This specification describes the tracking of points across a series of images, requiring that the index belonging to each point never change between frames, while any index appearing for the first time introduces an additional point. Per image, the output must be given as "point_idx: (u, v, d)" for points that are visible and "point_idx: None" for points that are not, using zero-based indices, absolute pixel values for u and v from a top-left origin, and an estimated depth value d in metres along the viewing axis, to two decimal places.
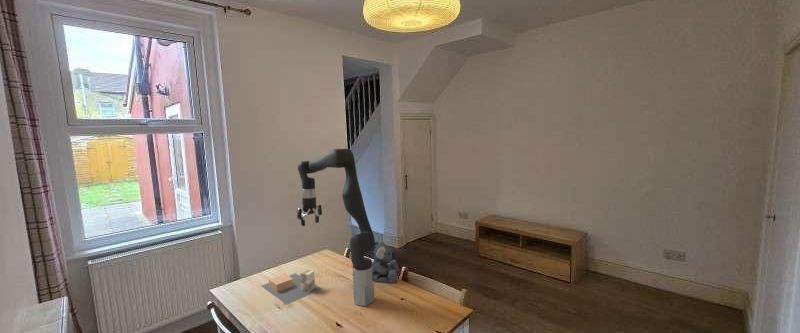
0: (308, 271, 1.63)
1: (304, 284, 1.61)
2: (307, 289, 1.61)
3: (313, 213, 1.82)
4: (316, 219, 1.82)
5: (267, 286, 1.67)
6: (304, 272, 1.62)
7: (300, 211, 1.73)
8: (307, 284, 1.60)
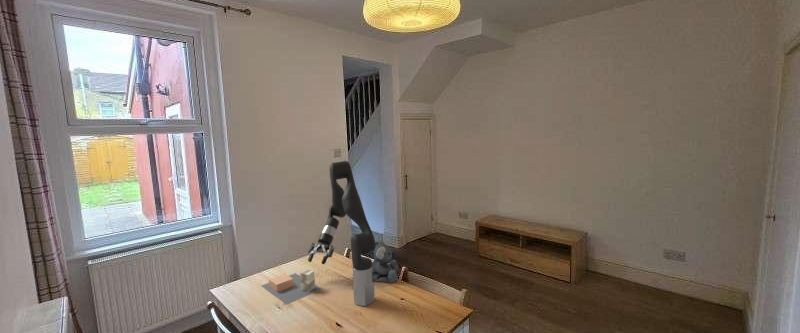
0: (308, 271, 1.63)
1: (304, 284, 1.61)
2: (307, 289, 1.61)
3: None
4: None
5: (267, 286, 1.67)
6: (304, 272, 1.62)
7: (311, 245, 1.76)
8: (307, 284, 1.60)
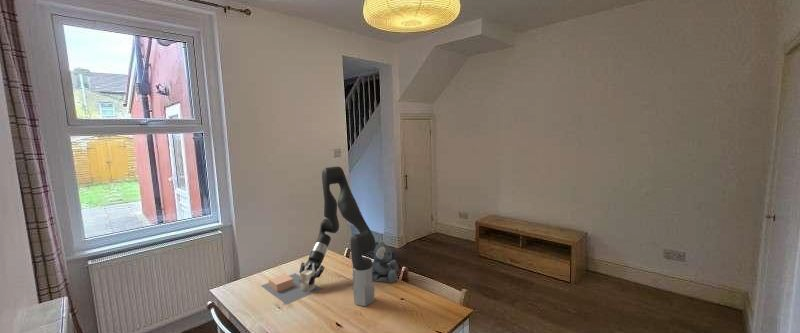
0: (308, 271, 1.63)
1: (304, 284, 1.61)
2: (307, 289, 1.61)
3: None
4: None
5: (267, 286, 1.67)
6: (304, 272, 1.62)
7: (301, 264, 1.68)
8: (307, 284, 1.60)
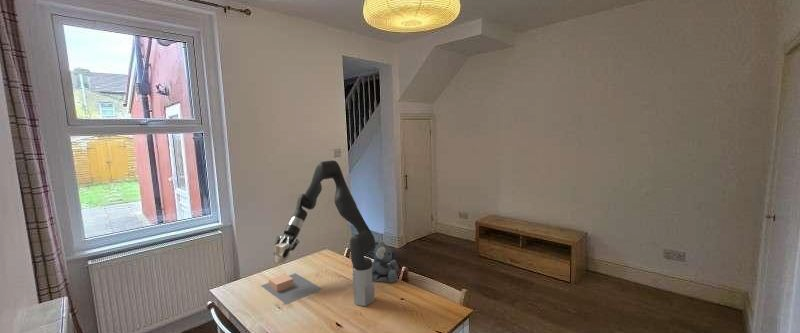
0: (283, 244, 1.65)
1: (278, 256, 1.63)
2: (281, 261, 1.63)
3: None
4: None
5: (267, 286, 1.67)
6: (278, 245, 1.64)
7: (277, 238, 1.70)
8: (281, 256, 1.62)
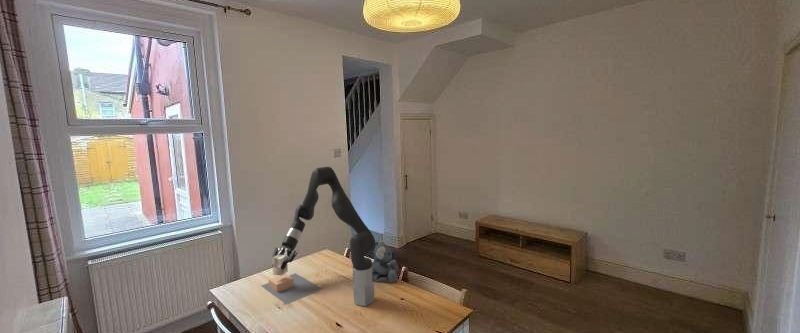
0: (281, 256, 1.66)
1: (276, 268, 1.63)
2: (279, 273, 1.63)
3: None
4: None
5: (267, 286, 1.67)
6: (276, 256, 1.65)
7: (275, 250, 1.70)
8: (279, 268, 1.63)
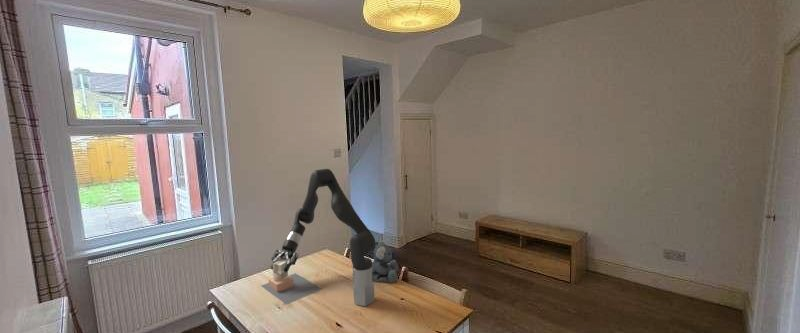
0: (281, 262, 1.66)
1: (277, 274, 1.64)
2: (279, 279, 1.63)
3: None
4: None
5: (267, 286, 1.67)
6: (277, 262, 1.65)
7: (275, 252, 1.71)
8: (279, 274, 1.63)
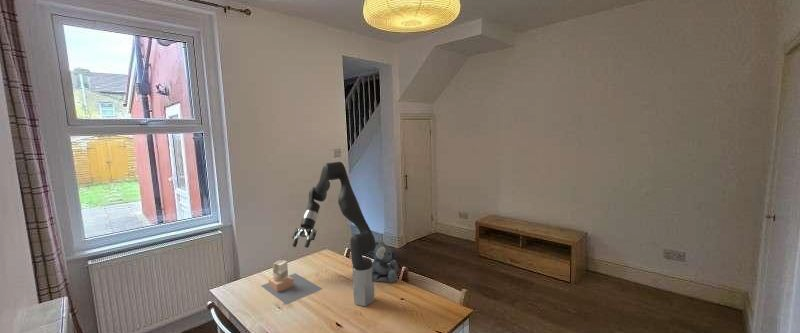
0: (281, 262, 1.66)
1: (277, 274, 1.64)
2: (279, 279, 1.63)
3: None
4: None
5: (267, 286, 1.67)
6: (277, 262, 1.65)
7: (295, 230, 1.81)
8: (279, 274, 1.63)
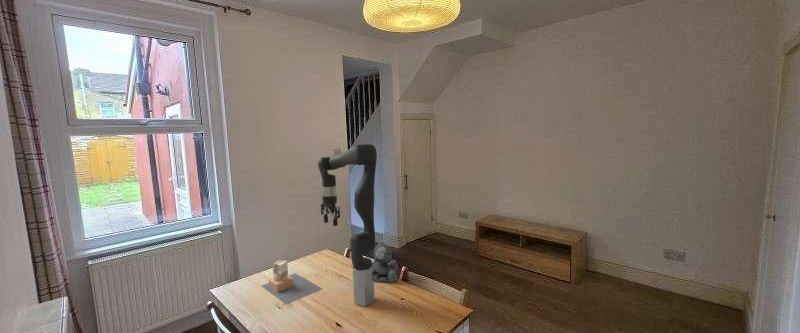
0: (281, 262, 1.66)
1: (277, 274, 1.64)
2: (279, 279, 1.63)
3: None
4: None
5: (267, 286, 1.67)
6: (277, 262, 1.65)
7: (321, 206, 1.72)
8: (279, 274, 1.63)
